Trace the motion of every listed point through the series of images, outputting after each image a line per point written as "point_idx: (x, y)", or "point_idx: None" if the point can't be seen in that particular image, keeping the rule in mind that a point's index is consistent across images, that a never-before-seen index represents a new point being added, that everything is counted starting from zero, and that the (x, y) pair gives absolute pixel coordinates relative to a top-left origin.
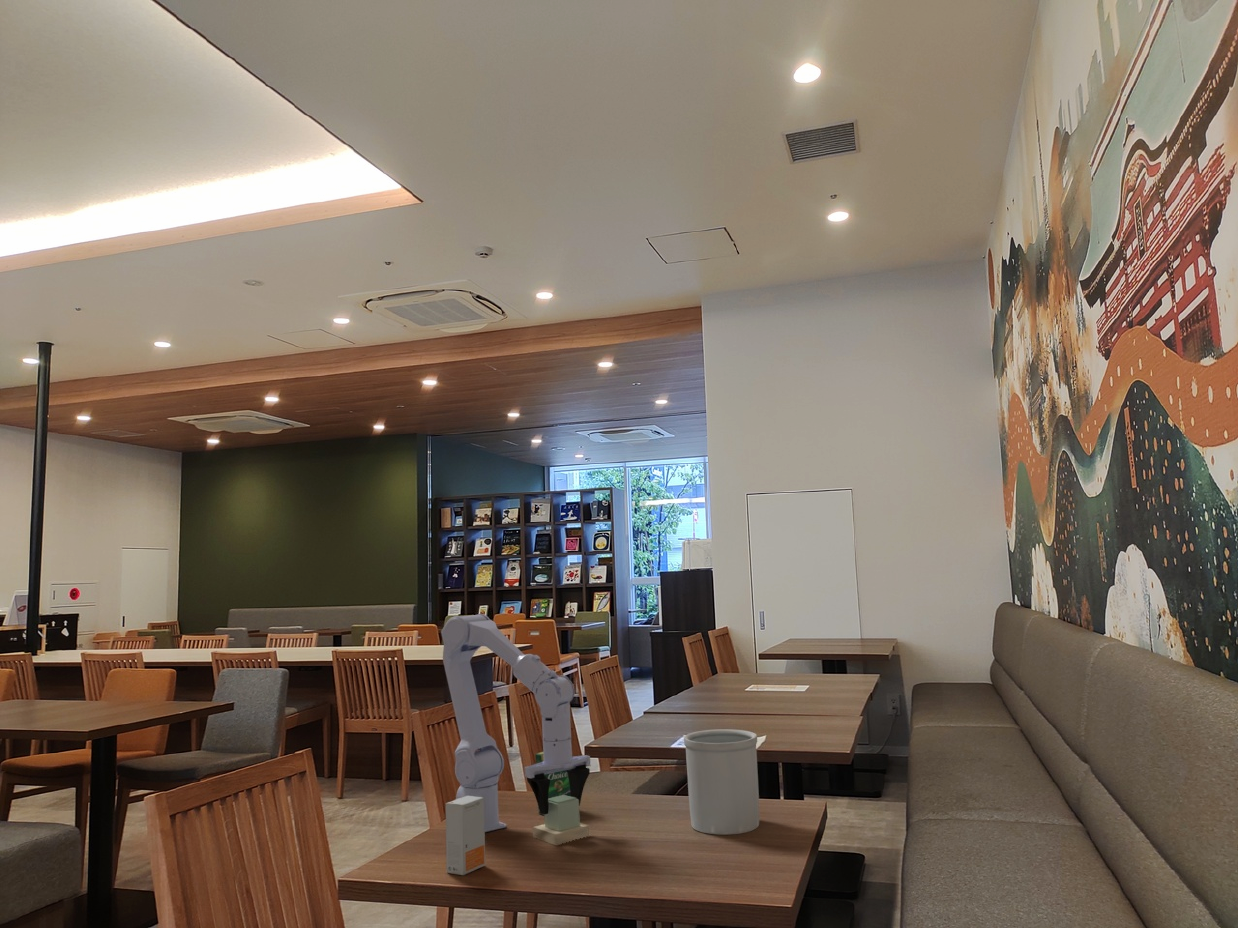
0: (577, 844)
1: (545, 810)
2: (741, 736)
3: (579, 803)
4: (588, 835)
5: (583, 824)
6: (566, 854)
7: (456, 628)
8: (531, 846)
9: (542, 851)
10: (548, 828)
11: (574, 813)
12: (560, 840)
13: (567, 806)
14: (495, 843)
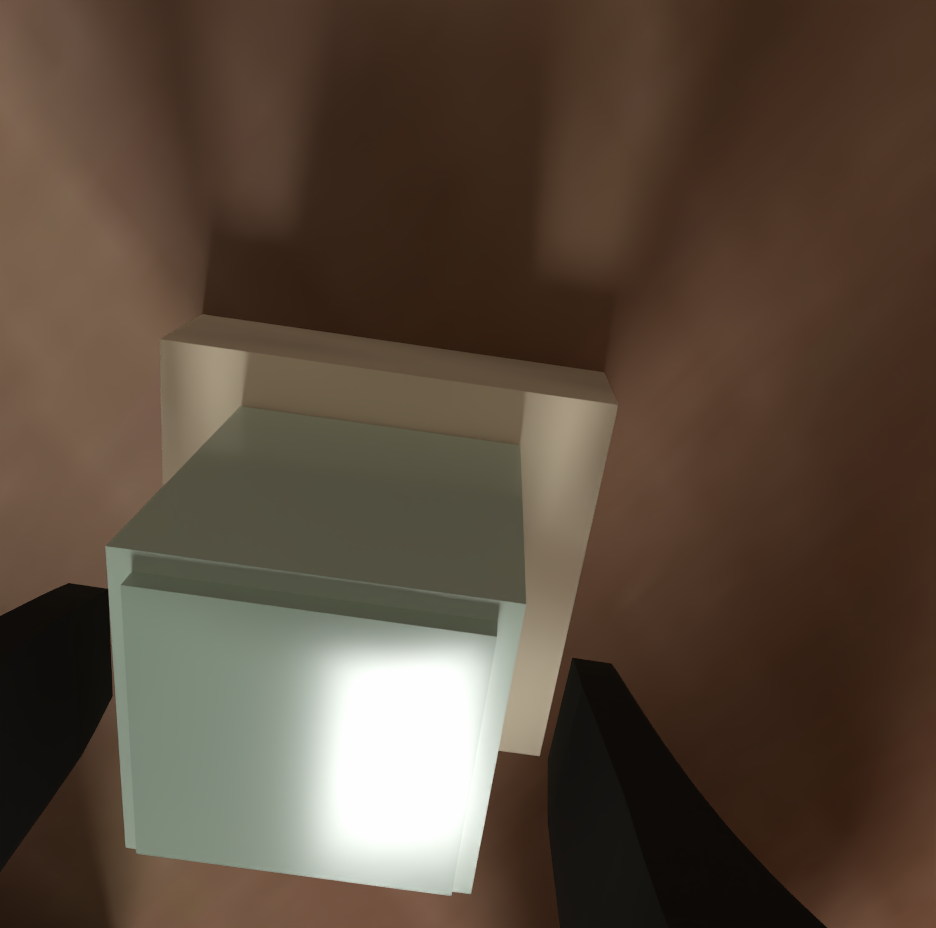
0: (467, 200)
1: (625, 686)
2: None
3: (60, 593)
4: (210, 317)
5: (178, 417)
6: (794, 22)
7: None
8: (744, 529)
9: (820, 333)
10: None
11: (265, 473)
12: (547, 374)
13: (349, 544)
14: (813, 804)
